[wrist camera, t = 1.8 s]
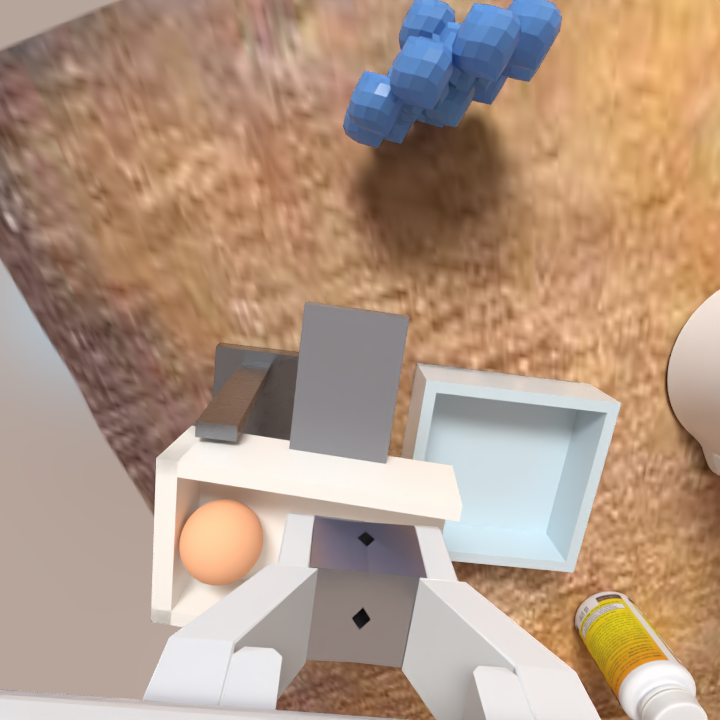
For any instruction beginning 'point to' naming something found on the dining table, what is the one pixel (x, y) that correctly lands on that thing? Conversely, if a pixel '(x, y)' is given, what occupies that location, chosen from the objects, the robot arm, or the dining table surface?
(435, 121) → the grapes
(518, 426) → the pale blue tray
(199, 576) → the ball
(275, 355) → the trough stand
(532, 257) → the dining table surface
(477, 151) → the dining table surface
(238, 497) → the tipping trough
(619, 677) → the supplement bottle
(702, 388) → the robot arm
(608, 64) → the dining table surface
